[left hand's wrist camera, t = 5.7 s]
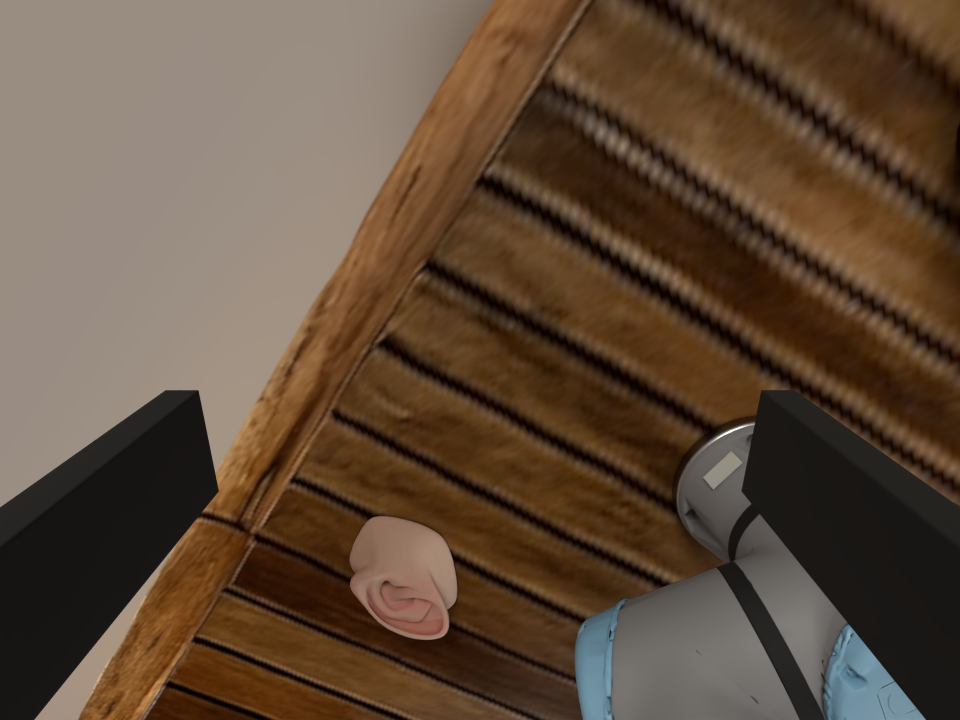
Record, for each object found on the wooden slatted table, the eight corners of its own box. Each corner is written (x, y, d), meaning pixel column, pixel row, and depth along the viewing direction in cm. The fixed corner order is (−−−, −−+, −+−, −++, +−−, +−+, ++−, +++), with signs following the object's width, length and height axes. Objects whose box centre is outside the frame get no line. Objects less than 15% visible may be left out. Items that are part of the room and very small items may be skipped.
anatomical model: (336, 540, 50) (456, 542, 50) (346, 514, 54) (458, 516, 54) (345, 644, 55) (455, 646, 55) (354, 613, 59) (456, 615, 59)
